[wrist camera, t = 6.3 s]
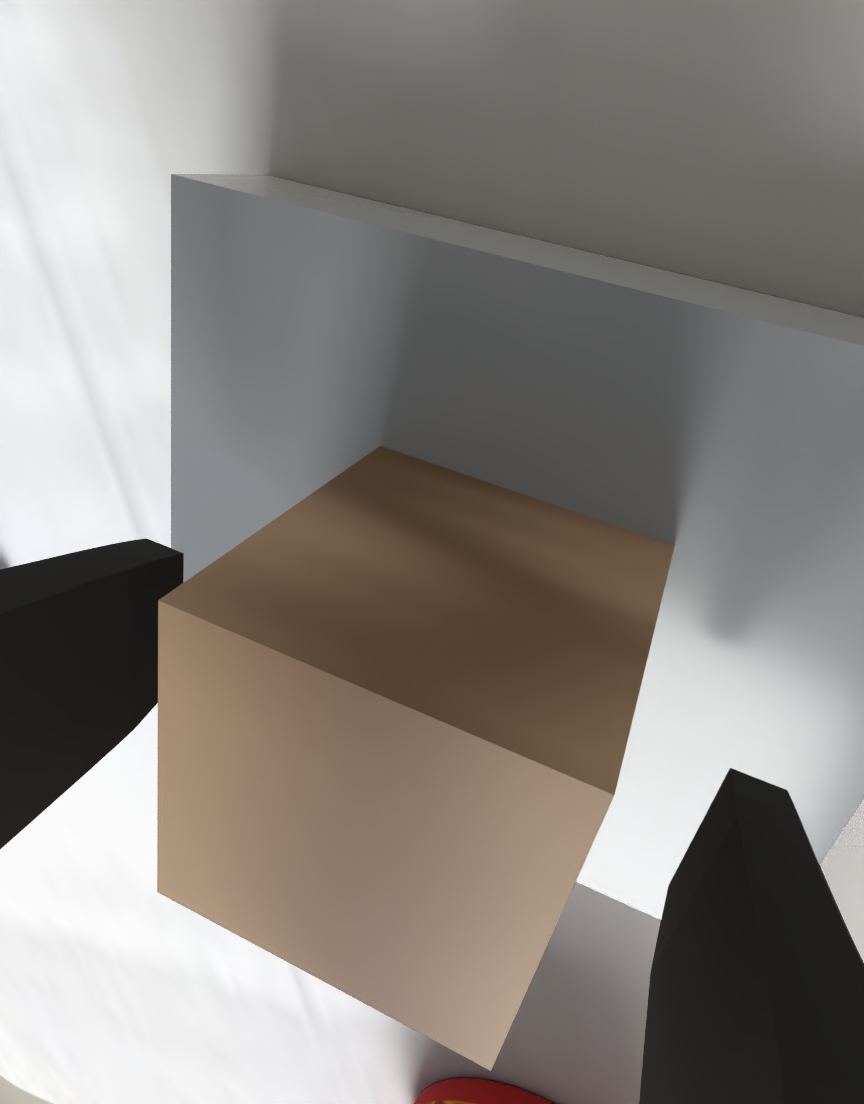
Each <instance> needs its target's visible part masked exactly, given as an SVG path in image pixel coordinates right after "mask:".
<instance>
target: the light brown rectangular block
mask: <svg viewBox="0 0 864 1104" xmlns="http://www.w3.org/2000/svg"><path fill="white" fill-rule="evenodd" d="M674 547H675V546H674V545H671V544H668V543H665V542H662V541H659V540H656V539H653V538H650V537H647V536H644V535H641V534H639V533H636V532H633V531H630V530H627V529H624V528H621V527H618V526H615V525H612V524H609V523H606V522H603V521H600V520H597V519H594V518H592V517H589V516H586V515H583V514H580V513H577V512H574V511H571V510H568V509H565V508H562V507H559V506H556V505H553V504H550V503H547V502H545V501H542V500H539V499H536V498H533V497H530V496H527V495H524V494H521V493H518V492H515V491H512V490H509V489H506V488H503V487H500V486H498V485H495V484H492V483H489V482H486V481H483V480H480V479H477V478H474V477H471V476H468V475H465V474H462V473H459V472H456V471H453V470H451V469H448V468H445V467H442V466H439V465H436V464H433V463H430V462H427V461H424V460H421V459H418V458H415V457H412V456H409V455H406V454H404V453H401V452H398V451H395V450H392V449H389V448H386V447H383V446H379V447H378V448H376V449H375V450H373V451H372V452H371V453H369V454H368V455H366V456H365V457H363V458H362V459H361V460H359V461H358V462H356V463H355V464H353V465H352V466H351V467H349V468H348V469H346V470H345V471H343V472H342V473H340V474H339V475H338V476H336V477H335V478H333V479H332V480H330V481H329V482H328V483H326V484H325V485H323V486H322V487H320V488H319V489H317V490H316V491H315V492H313V493H312V494H310V495H309V496H307V497H306V498H305V499H303V500H302V501H300V502H299V503H297V504H296V505H295V506H293V507H292V508H290V509H289V510H287V511H286V512H284V513H283V514H282V515H280V516H279V517H277V518H276V519H274V520H273V521H272V522H270V523H269V524H267V525H266V526H264V527H263V528H261V529H260V530H259V531H257V532H256V533H254V534H253V535H251V536H250V537H249V538H247V539H246V540H244V541H243V542H241V543H240V544H239V545H237V546H236V547H234V548H233V549H231V550H230V551H228V552H227V553H226V554H224V555H223V556H221V557H220V558H218V559H217V560H216V561H214V562H213V563H211V564H210V565H208V566H207V567H205V568H204V569H203V570H201V571H200V572H198V573H197V574H195V575H194V576H193V577H191V578H190V579H188V580H187V581H185V582H184V583H183V584H181V585H180V586H178V587H177V588H175V589H174V590H172V591H171V592H170V593H168V594H167V595H165V596H164V597H162V598H161V599H160V600H158V876H157V892H158V893H160V894H162V895H164V896H166V897H168V898H170V899H172V900H173V901H175V902H177V903H179V904H181V905H183V906H185V907H186V908H188V909H190V910H192V911H194V912H196V913H198V914H199V915H201V916H203V917H205V918H207V919H209V920H211V921H212V922H214V923H216V924H218V925H220V926H222V927H224V928H225V929H227V930H229V931H231V932H233V933H235V934H237V935H238V936H240V937H242V938H244V939H246V940H248V941H250V942H252V943H253V944H255V945H257V946H259V947H261V948H263V949H265V950H266V951H268V952H270V953H272V954H274V955H276V956H278V957H279V958H281V959H283V960H285V961H287V962H289V963H291V964H292V965H294V966H296V967H298V968H300V969H302V970H304V971H305V972H307V973H309V974H311V975H313V976H315V977H317V978H318V979H320V980H322V981H324V982H326V983H328V984H330V985H332V986H333V987H335V988H337V989H339V990H341V991H343V992H345V993H346V994H348V995H350V996H352V997H354V998H356V999H358V1000H359V1001H361V1002H363V1003H365V1004H367V1005H369V1006H371V1007H372V1008H374V1009H376V1010H378V1011H380V1012H382V1013H384V1014H385V1015H387V1016H389V1017H391V1018H393V1019H395V1020H397V1021H398V1022H400V1023H402V1024H404V1025H406V1026H408V1027H410V1028H411V1029H413V1030H415V1031H417V1032H419V1033H421V1034H423V1035H425V1036H426V1037H428V1038H430V1039H432V1040H434V1041H436V1042H438V1043H439V1044H441V1045H443V1046H445V1047H447V1048H449V1049H451V1050H452V1051H454V1052H456V1053H458V1054H460V1055H462V1056H464V1057H465V1058H467V1059H469V1060H471V1061H473V1062H475V1063H477V1064H478V1065H480V1066H482V1067H484V1068H486V1069H488V1070H490V1071H491V1070H492V1067H493V1065H494V1063H495V1061H496V1058H497V1056H498V1054H499V1052H500V1050H501V1047H502V1045H503V1043H504V1041H505V1038H506V1036H507V1034H508V1032H509V1029H510V1027H511V1025H512V1023H513V1021H514V1018H515V1016H516V1014H517V1012H518V1009H519V1007H520V1005H521V1003H522V1000H523V998H524V996H525V994H526V992H527V989H528V987H529V985H530V983H531V980H532V978H533V976H534V974H535V971H536V969H537V967H538V965H539V962H540V960H541V958H542V956H543V954H544V951H545V949H546V947H547V945H548V942H549V940H550V938H551V936H552V933H553V931H554V929H555V927H556V925H557V922H558V920H559V918H560V916H561V913H562V911H563V909H564V907H565V904H566V902H567V900H568V898H569V896H570V893H571V891H572V889H573V887H574V884H575V882H576V880H577V878H578V875H579V873H580V871H581V869H582V867H583V864H584V862H585V860H586V858H587V855H588V853H589V851H590V849H591V846H592V844H593V842H594V840H595V838H596V835H597V833H598V831H599V829H600V826H601V824H602V822H603V820H604V817H605V815H606V813H607V811H608V809H609V806H610V804H611V802H612V800H613V797H614V795H615V791H616V787H617V783H618V778H619V774H620V770H621V766H622V762H623V758H624V754H625V750H626V745H627V741H628V737H629V733H630V729H631V725H632V721H633V717H634V712H635V708H636V704H637V700H638V696H639V692H640V688H641V683H642V679H643V675H644V671H645V667H646V663H647V659H648V655H649V650H650V646H651V642H652V638H653V634H654V630H655V626H656V622H657V617H658V613H659V609H660V605H661V601H662V597H663V593H664V589H665V584H666V580H667V576H668V572H669V568H670V564H671V560H672V555H673V551H674Z"/></svg>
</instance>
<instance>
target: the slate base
mask: <svg viewBox="0 0 864 1104" xmlns="http://www.w3.org/2000/svg"><path fill="white" fill-rule="evenodd" d="M379 446H383V447H386V448H389V449H392V450H395V451H398V452H401V453H404V454H406V455H409V456H412V457H415V458H418V459H421V460H424V461H427V462H430V463H433V464H436V465H439V466H442V467H445V468H448V469H451V470H453V471H456V472H459V473H462V474H465V475H468V476H471V477H474V478H477V479H480V480H483V481H486V482H489V483H492V484H495V485H498V486H500V487H503V488H506V489H509V490H512V491H515V492H518V493H521V494H524V495H527V496H530V497H533V498H536V499H539V500H542V501H545V502H547V503H550V504H553V505H556V506H559V507H562V508H565V509H568V510H571V511H574V512H577V513H580V514H583V515H586V516H589V517H592V518H594V519H597V520H600V521H603V522H606V523H609V524H612V525H615V526H618V527H621V528H624V529H627V530H630V531H633V532H636V533H639V534H641V535H644V536H647V537H650V538H653V539H656V540H659V541H662V542H665V543H668V544H671V545H674V546H675V547H674V551H673V555H672V560H671V564H670V568H669V572H668V576H667V580H666V584H665V589H664V593H663V597H662V601H661V605H660V609H659V613H658V617H657V622H656V626H655V630H654V634H653V638H652V642H651V646H650V650H649V655H648V659H647V663H646V667H645V671H644V675H643V679H642V683H641V688H640V692H639V696H638V700H637V704H636V708H635V712H634V717H633V721H632V725H631V729H630V733H629V737H628V741H627V745H626V750H625V754H624V758H623V762H622V766H621V770H620V774H619V778H618V783H617V787H616V791H615V795H614V797H613V800H612V802H611V804H610V806H609V809H608V811H607V813H606V815H605V817H604V820H603V822H602V824H601V826H600V829H599V831H598V833H597V835H596V838H595V840H594V842H593V844H592V846H591V849H590V851H589V853H588V855H587V858H586V860H585V862H584V864H583V867H582V869H581V871H580V873H579V875H578V878H577V880H576V882H577V883H579V884H582V885H584V886H586V887H588V888H590V889H593V890H595V891H597V892H599V893H602V894H604V895H606V896H608V897H610V898H613V899H615V900H617V901H619V902H622V903H624V904H626V905H628V906H630V907H633V908H635V909H637V910H639V911H642V912H644V913H646V914H648V915H650V916H653V917H655V918H657V919H659V920H661V919H662V914H663V909H664V904H665V900H666V895H667V890H668V886H669V884H670V882H671V880H672V878H673V876H674V874H675V872H676V870H677V868H678V866H679V864H680V863H681V861H682V859H683V857H684V855H685V853H686V851H687V849H688V847H689V845H690V843H691V842H692V840H693V838H694V836H695V834H696V832H697V830H698V828H699V826H700V824H701V822H702V821H703V819H704V817H705V815H706V813H707V811H708V809H709V807H710V805H711V803H712V801H713V800H714V798H715V796H716V794H717V792H718V790H719V788H720V786H721V784H722V782H723V780H724V779H725V777H726V775H727V773H728V771H729V769H730V768H732V769H735V770H737V771H740V772H742V773H745V774H747V775H750V776H753V777H755V778H758V779H760V780H763V781H765V782H768V783H770V784H773V785H775V786H778V787H781V788H783V789H786V790H787V791H788V793H789V795H790V797H791V799H792V801H793V803H794V805H795V808H796V810H797V812H798V815H799V817H800V819H801V822H802V824H803V827H804V829H805V831H806V834H807V836H808V839H809V841H810V843H811V846H812V848H813V851H814V853H815V855H816V858H817V860H818V862H819V865H820V863H821V862H822V860H823V859H824V857H825V856H826V854H827V853H828V851H829V850H830V848H831V847H832V845H833V844H834V842H835V841H836V839H837V838H838V836H839V835H840V833H841V832H842V830H843V829H844V827H845V826H846V824H847V823H848V821H849V820H850V818H851V817H852V815H853V814H854V812H855V811H856V809H857V808H858V806H859V805H860V803H861V802H862V800H863V799H864V318H863V317H859V316H854V315H850V314H846V313H842V312H838V311H834V310H829V309H825V308H821V307H817V306H813V305H809V304H804V303H800V302H796V301H792V300H788V299H783V298H779V297H775V296H771V295H767V294H763V293H758V292H754V291H750V290H746V289H742V288H738V287H733V286H729V285H725V284H721V283H717V282H712V281H708V280H704V279H700V278H696V277H692V276H687V275H683V274H679V273H675V272H671V271H667V270H662V269H658V268H654V267H650V266H646V265H641V264H637V263H633V262H629V261H625V260H621V259H616V258H612V257H608V256H604V255H600V254H595V253H591V252H587V251H583V250H579V249H575V248H570V247H566V246H562V245H558V244H554V243H550V242H545V241H541V240H537V239H533V238H529V237H524V236H520V235H516V234H512V233H508V232H504V231H499V230H495V229H491V228H487V227H483V226H479V225H474V224H470V223H466V222H462V221H458V220H453V219H449V218H445V217H441V216H437V215H433V214H428V213H424V212H420V211H416V210H412V209H408V208H403V207H399V206H395V205H391V204H387V203H382V202H378V201H374V200H370V199H366V198H362V197H357V196H353V195H349V194H345V193H341V192H337V191H332V190H328V189H324V188H320V187H316V186H311V185H307V184H303V183H299V182H295V181H291V180H286V179H282V178H278V177H274V176H270V175H208V174H171V549H174V550H177V551H179V552H182V553H184V569H183V583H184V582H185V581H187V580H188V579H190V578H191V577H193V576H194V575H195V574H197V573H198V572H200V571H201V570H203V569H204V568H205V567H207V566H208V565H210V564H211V563H213V562H214V561H216V560H217V559H218V558H220V557H221V556H223V555H224V554H226V553H227V552H228V551H230V550H231V549H233V548H234V547H236V546H237V545H239V544H240V543H241V542H243V541H244V540H246V539H247V538H249V537H250V536H251V535H253V534H254V533H256V532H257V531H259V530H260V529H261V528H263V527H264V526H266V525H267V524H269V523H270V522H272V521H273V520H274V519H276V518H277V517H279V516H280V515H282V514H283V513H284V512H286V511H287V510H289V509H290V508H292V507H293V506H295V505H296V504H297V503H299V502H300V501H302V500H303V499H305V498H306V497H307V496H309V495H310V494H312V493H313V492H315V491H316V490H317V489H319V488H320V487H322V486H323V485H325V484H326V483H328V482H329V481H330V480H332V479H333V478H335V477H336V476H338V475H339V474H340V473H342V472H343V471H345V470H346V469H348V468H349V467H351V466H352V465H353V464H355V463H356V462H358V461H359V460H361V459H362V458H363V457H365V456H366V455H368V454H369V453H371V452H372V451H373V450H375V449H376V448H378V447H379Z"/></svg>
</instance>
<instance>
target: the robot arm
mask: <svg viewBox="0 0 864 1104" xmlns="http://www.w3.org/2000/svg"><path fill="white" fill-rule="evenodd" d="M183 569H184V553H182V552H179V551H177V550H174V549H171V548H169V547H166V546H164V545H161V544H159V543H156V542H154V541H151V540H149V539H140V540H134V541H127V542H121V543H116V544H111V545H106V546H101V547H97V548H92V549H88V550H83V551H79V552H74V553H70V554H66V555H61V556H57V557H53V558H49V559H44V560H40V561H36V562H31V563H27V564H23V565H19V566H14V567H10V568H6V569H1V570H0V849H1V848H2V847H3V846H4V845H6V844H7V843H8V842H9V841H10V840H11V839H12V838H13V837H15V836H16V835H17V834H18V833H19V832H20V831H21V830H22V829H24V828H25V827H26V826H27V825H28V824H29V823H30V822H31V821H33V820H34V819H35V818H36V817H37V816H38V815H39V814H40V813H42V812H43V811H44V810H45V809H46V808H47V807H48V806H49V805H51V804H52V803H53V802H54V801H55V800H56V799H57V798H58V797H60V796H61V795H62V794H63V793H64V792H65V791H66V790H67V789H69V788H70V787H71V786H72V785H73V784H74V783H75V782H76V781H78V780H79V779H80V778H81V777H82V776H83V775H84V774H85V773H87V772H88V771H89V770H90V769H91V768H92V767H93V766H94V765H95V764H97V763H98V762H99V761H100V760H101V759H102V758H103V757H104V756H105V755H106V754H108V753H109V752H110V751H111V750H112V749H113V748H114V747H115V746H116V745H117V744H119V743H120V742H121V741H122V740H123V739H124V738H125V737H126V736H127V735H128V734H129V733H130V732H131V731H133V730H134V729H135V727H136V726H137V725H138V724H139V723H140V722H141V721H142V720H143V718H144V717H145V716H146V715H147V714H148V713H149V712H150V711H151V709H152V708H153V707H154V706H155V705H156V704H157V703H158V600H160V599H161V598H162V597H164V596H165V595H167V594H168V593H170V592H171V591H172V590H174V589H175V588H177V587H178V586H180V585H181V584H183ZM639 1104H864V963H863V961H862V959H861V957H860V954H859V952H858V950H857V948H856V946H855V944H854V942H853V940H852V938H851V935H850V933H849V931H848V929H847V926H846V924H845V922H844V920H843V918H842V915H841V913H840V911H839V909H838V906H837V904H836V902H835V899H834V897H833V895H832V893H831V890H830V888H829V886H828V883H827V881H826V879H825V876H824V874H823V872H822V869H821V867H820V865H819V862H818V860H817V858H816V855H815V853H814V851H813V848H812V846H811V843H810V841H809V839H808V836H807V834H806V831H805V829H804V827H803V824H802V822H801V819H800V817H799V815H798V812H797V810H796V808H795V805H794V803H793V801H792V799H791V797H790V795H789V793H788V791H787V790H786V789H783V788H781V787H778V786H775V785H773V784H770V783H768V782H765V781H763V780H760V779H758V778H755V777H753V776H750V775H747V774H745V773H742V772H740V771H737V770H735V769H732V768H730V769H729V771H728V773H727V775H726V777H725V779H724V780H723V782H722V784H721V786H720V788H719V790H718V792H717V794H716V796H715V798H714V800H713V801H712V803H711V805H710V807H709V809H708V811H707V813H706V815H705V817H704V819H703V821H702V822H701V824H700V826H699V828H698V830H697V832H696V834H695V836H694V838H693V840H692V842H691V843H690V845H689V847H688V849H687V851H686V853H685V855H684V857H683V859H682V861H681V863H680V864H679V866H678V868H677V870H676V872H675V874H674V876H673V878H672V880H671V882H670V884H669V886H668V890H667V895H666V900H665V904H664V909H663V914H662V919H661V923H660V928H659V933H658V938H657V943H656V948H655V953H654V958H653V964H652V969H651V976H650V987H649V997H648V1009H647V1020H646V1031H645V1043H644V1054H643V1066H642V1078H641V1090H640V1102H639Z"/></svg>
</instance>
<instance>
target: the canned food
mask: <svg viewBox="0 0 864 1104" xmlns="http://www.w3.org/2000/svg"><path fill="white" fill-rule="evenodd" d="M414 1104H554V1103H552V1102H550V1101H548V1100H546V1099H544V1098H542V1097H540V1096H538V1095H535V1094H533V1093H530V1092H527V1091H525V1090H522V1089H520V1088H517V1087H514V1086H511V1085H507V1084H503V1083H499V1082H496V1081H492V1080H484V1079H476V1078H455V1079H448V1080H444V1081H441V1082H437V1083H434V1084H432V1085H431V1086H429V1087H428V1088H426V1089H425V1090H424V1091H423V1092H422V1093H421V1095H420V1096H419V1097H418V1098H417V1100H416V1101H415V1102H414Z"/></svg>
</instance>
